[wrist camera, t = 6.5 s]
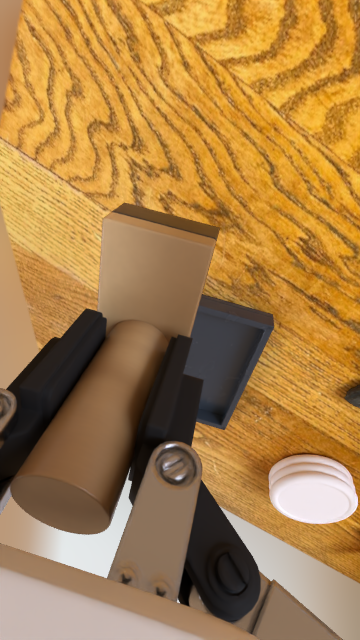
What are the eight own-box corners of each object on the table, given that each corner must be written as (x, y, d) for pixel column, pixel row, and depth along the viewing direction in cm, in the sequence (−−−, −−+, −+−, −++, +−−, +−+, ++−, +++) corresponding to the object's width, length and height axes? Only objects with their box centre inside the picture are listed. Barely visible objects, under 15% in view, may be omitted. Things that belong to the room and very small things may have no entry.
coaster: (326, 442, 37) (333, 470, 35) (365, 488, 41) (374, 517, 38) (253, 464, 42) (253, 490, 39) (293, 504, 45) (296, 531, 42)
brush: (107, 379, 16) (8, 559, 10) (124, 202, 11) (-59, 328, 5) (173, 399, 16) (117, 595, 10) (220, 227, 11) (170, 394, 5)
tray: (113, 382, 39) (107, 395, 37) (128, 272, 30) (120, 282, 28) (225, 415, 38) (224, 430, 36) (273, 314, 30) (274, 326, 28)
